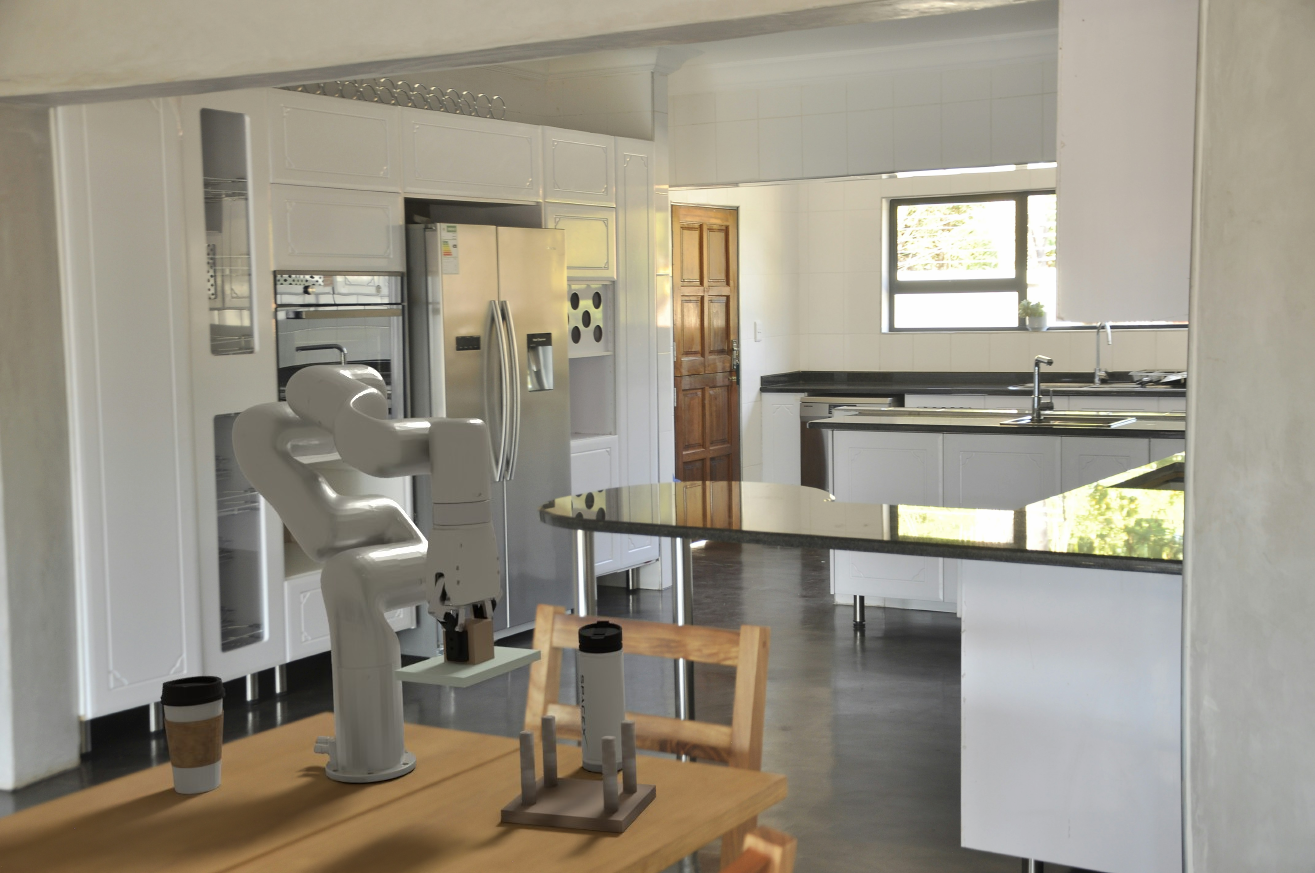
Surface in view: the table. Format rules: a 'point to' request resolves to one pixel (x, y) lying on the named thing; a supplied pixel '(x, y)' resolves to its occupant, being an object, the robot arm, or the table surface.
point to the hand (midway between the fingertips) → (469, 655)
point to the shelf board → (467, 671)
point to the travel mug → (601, 690)
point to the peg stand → (579, 787)
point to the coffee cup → (194, 731)
